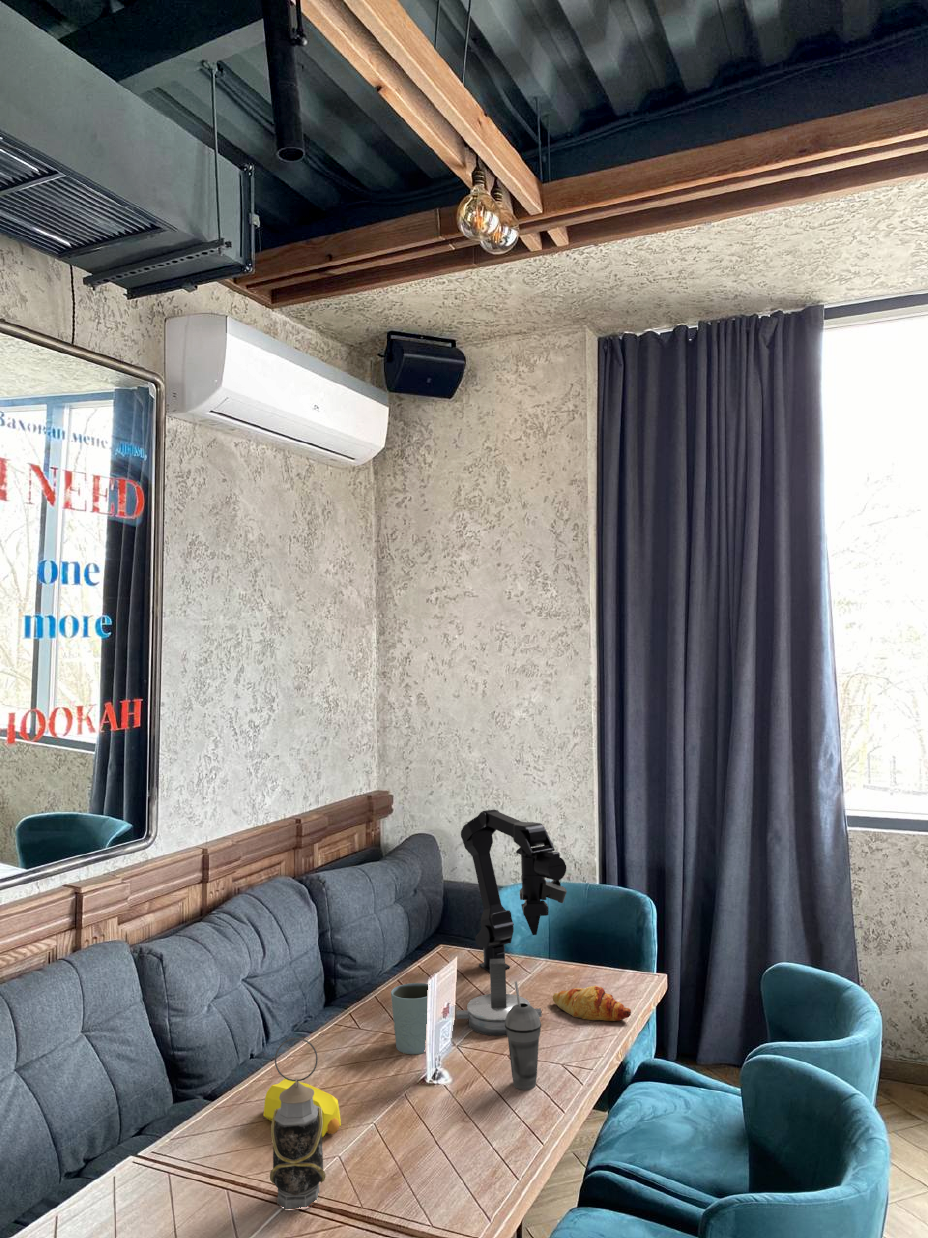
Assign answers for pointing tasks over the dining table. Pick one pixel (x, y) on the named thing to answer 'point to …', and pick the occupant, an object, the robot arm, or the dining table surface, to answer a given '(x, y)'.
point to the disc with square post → (494, 996)
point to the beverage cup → (523, 1043)
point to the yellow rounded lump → (319, 1099)
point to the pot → (486, 1024)
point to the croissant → (591, 1004)
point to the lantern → (297, 1144)
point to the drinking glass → (410, 1017)
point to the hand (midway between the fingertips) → (534, 934)
